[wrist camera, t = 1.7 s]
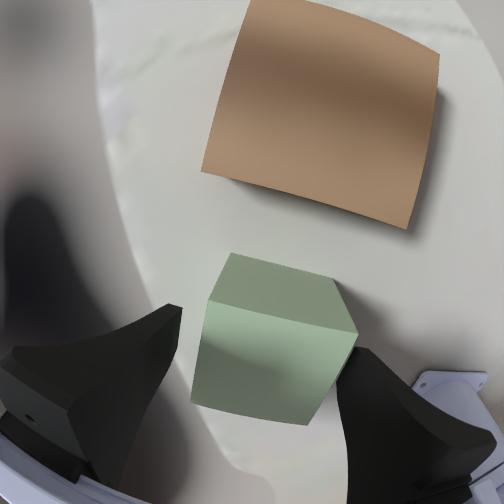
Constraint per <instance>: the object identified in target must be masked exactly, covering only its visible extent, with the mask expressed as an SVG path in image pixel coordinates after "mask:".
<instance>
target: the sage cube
mask: <svg viewBox="0 0 504 504" xmlns="http://www.w3.org/2000/svg"><path fill="white" fill-rule="evenodd" d="M358 335H359V333H358V331H357V329H356V327H355V325H354V322H353V320H352V318H351V316H350V314H349V312H348V310H347V307H346V305H345V303H344V301H343V299H342V297H341V295H340V293H339V291H338V289H337V287H336V285H335V283H334V281H333V279H332V278H330V277H326V276H322V275H318V274H314V273H310V272H306V271H302V270H298V269H294V268H290V267H286V266H282V265H278V264H274V263H270V262H266V261H262V260H258V259H254V258H250V257H246V256H243V255H239V254H235V253H230V255H229V257H228V259H227V262H226V264H225V266H224V268H223V270H222V272H221V274H220V276H219V278H218V280H217V282H216V284H215V287H214V289H213V291H212V293H211V295H210V297H209V299H208V303H207V308H206V313H205V319H204V324H203V329H202V335H201V340H200V346H199V351H198V357H197V362H196V368H195V374H194V380H193V386H192V392H191V398H190V403H194V404H197V405H201V406H205V407H208V408H212V409H216V410H220V411H225V412H229V413H233V414H238V415H243V416H248V417H253V418H258V419H264V420H270V421H276V422H283V423H290V424H298V425H306V426H307V425H308V424H309V422H310V421H311V419H312V418H313V416H314V414H315V413H316V411H317V410H318V408H319V406H320V405H321V403H322V401H323V400H324V398H325V396H326V395H327V393H328V391H329V390H330V388H331V386H332V384H333V383H334V381H335V379H336V377H337V375H338V374H339V372H340V370H341V368H342V366H343V364H344V362H345V360H346V359H347V357H348V355H349V353H350V351H351V349H352V347H353V345H354V343H355V341H356V339H357V337H358Z"/></svg>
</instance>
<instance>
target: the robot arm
mask: <svg viewBox="0 0 504 504" xmlns="http://www.w3.org/2000/svg"><path fill="white" fill-rule="evenodd" d="M182 309H183V308H182V307H179V306H175V305H172V304H166V305H164V306H163V307H161V308H159V309H157V310H155V311H154V312H152V313H150V314H148V315H146V316H145V317H143V318H141V319H139V320H137V321H135V322H133V323H131V324H129V325H127V326H124V327H122V328H120V329H118V330H115V331H113V332H110V333H107V334H104V335H101V336H98V337H95V338H91V339H87V340H82V341H78V342H73V343H67V344H60V345H50V346H14V347H13V348H12V349H11V350H9V351H8V352H7V353H6V354H5V355H4V356H3V357H2V358H1V359H0V398H1V400H2V402H3V404H4V406H5V408H6V410H7V411H6V412H5V413H4V415H3V416H2V415H1V413H0V495H1V496H2V497H3V498H4V499H5V500H6V501H7V502H9V503H10V504H150V503H147V502H144V501H141V500H138V499H136V498H133V497H130V496H128V495H125V494H123V493H120V492H118V490H119V486H120V483H121V479H122V476H123V472H124V469H125V466H126V463H127V460H128V457H129V454H130V451H131V448H132V445H133V442H134V439H135V437H136V434H137V431H138V429H139V426H140V423H141V421H142V418H143V416H144V413H145V411H146V409H147V407H148V405H149V403H150V402H151V400H152V398H153V396H154V394H155V393H156V391H157V389H158V387H159V385H160V384H161V382H162V380H163V378H164V376H165V375H166V373H167V371H168V369H169V367H170V365H171V362H172V360H173V357H174V355H175V352H176V350H177V346H178V338H179V330H180V323H181V316H182ZM487 379H488V374H487V373H486V372H445V371H425V372H423V373H422V374H421V375H420V377H419V378H418V380H417V381H416V383H415V384H414V386H413V387H412V389H411V388H410V387H409V386H408V385H407V384H406V383H404V382H403V381H402V380H401V379H400V378H399V377H398V376H397V375H396V374H395V373H394V372H393V371H392V370H391V369H390V368H389V367H388V366H386V365H385V364H384V363H383V362H382V361H381V360H380V359H379V358H378V357H377V356H376V355H375V354H374V353H373V352H371V351H370V350H369V349H367V348H362V347H356V346H355V347H354V349H353V351H352V353H351V355H350V357H349V359H348V361H347V362H346V364H345V366H344V368H343V370H342V372H341V374H340V375H339V377H338V379H337V381H336V387H337V401H338V407H339V411H340V416H341V421H342V426H343V430H344V435H345V440H346V446H347V458H348V492H347V504H504V436H503V434H502V432H501V431H500V429H499V427H498V426H497V424H496V422H495V421H494V419H493V418H492V416H491V414H490V413H489V411H488V410H487V408H486V407H485V405H484V404H483V402H482V401H481V399H480V398H479V396H478V395H477V393H478V392H479V390H480V389H481V388H482V386H483V385H484V383H485V382H486V380H487Z"/></svg>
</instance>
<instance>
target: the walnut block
mask: <svg viewBox="0 0 504 504" xmlns="http://www.w3.org/2000/svg"><path fill="white" fill-rule="evenodd" d="M439 58H440V54H438V53H436V52H435V51H433V50H431V49H429V48H428V47H426V46H424V45H422V44H420V43H418V42H416V41H414V40H412V39H410V38H408V37H406V36H404V35H402V34H400V33H398V32H396V31H394V30H391V29H389V28H387V27H385V26H382V25H380V24H377V23H375V22H372V21H370V20H367V19H365V18H362V17H359V16H356V15H354V14H351V13H348V12H345V11H342V10H338V9H335V8H332V7H328V6H325V5H321V4H317V3H313V2H309V1H305V0H251V1H250V4H249V7H248V10H247V12H246V15H245V18H244V21H243V24H242V27H241V29H240V32H239V35H238V38H237V41H236V44H235V47H234V51H233V54H232V57H231V60H230V63H229V67H228V70H227V73H226V77H225V80H224V83H223V87H222V90H221V94H220V97H219V101H218V105H217V108H216V112H215V116H214V119H213V123H212V127H211V131H210V135H209V139H208V143H207V147H206V151H205V156H204V160H203V164H202V168H201V172H204V173H209V174H213V175H218V176H222V177H227V178H231V179H235V180H240V181H244V182H248V183H252V184H256V185H260V186H264V187H268V188H272V189H276V190H279V191H283V192H287V193H291V194H294V195H298V196H301V197H305V198H308V199H312V200H315V201H319V202H322V203H326V204H329V205H332V206H336V207H339V208H342V209H345V210H349V211H352V212H355V213H358V214H361V215H364V216H367V217H370V218H373V219H376V220H379V221H382V222H385V223H388V224H391V225H394V226H397V227H400V228H402V229H405V230H406V229H407V226H408V222H409V219H410V216H411V213H412V209H413V206H414V202H415V199H416V195H417V191H418V188H419V184H420V180H421V176H422V172H423V168H424V163H425V159H426V154H427V149H428V144H429V139H430V134H431V128H432V122H433V116H434V109H435V101H436V93H437V84H438V73H439Z"/></svg>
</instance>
